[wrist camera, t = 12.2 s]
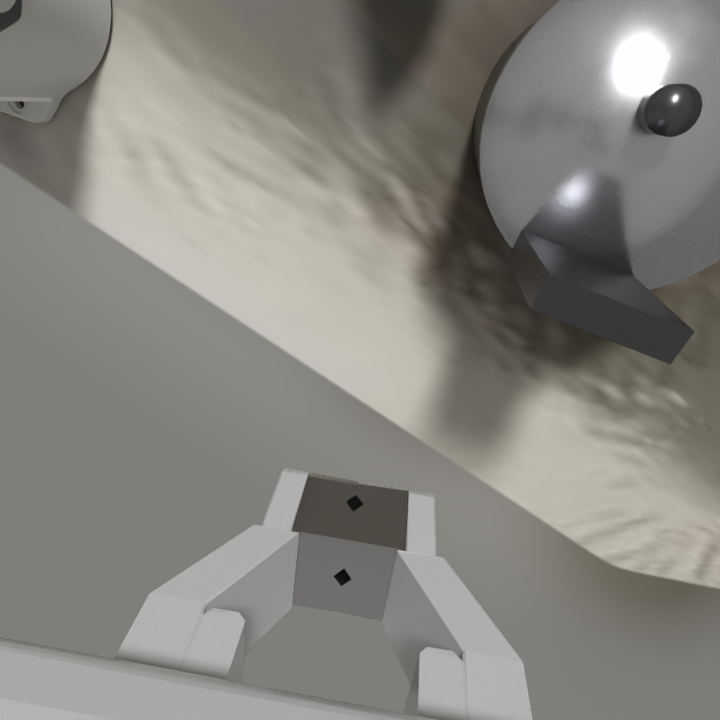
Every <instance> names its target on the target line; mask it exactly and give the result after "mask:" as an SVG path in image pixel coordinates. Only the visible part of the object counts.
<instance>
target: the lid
mask: <svg viewBox="0 0 720 720" xmlns="http://www.w3.org/2000/svg"><path fill="white" fill-rule="evenodd" d="M479 169H480V176H481V183H482V188H483V192H484V196H485V199H486V203H487V206H488V208H489V210H490V212H491V215H492V217H493V219H494V222H495V224H496V226H497V227H498V229H499V231H500V232H501V234H502V235H503V237H504V239H505V240H506V242H507V243H508V244H509V245H510V246H511V248H512V250H511V252H510V254H509V256H508V258H507V260H508V262H509V264H510V267H511V269H512V271H513V273H514V275H515V277H516V280H517V282H518V284H519V286H520V288H521V291H522V293H523V295H524V297H525V299H526V301H527V304H528V306H529V308H530V309H531V310H534V311H536V312H539V313H542V314H544V315H547V316H549V317H552V318H554V319H557V320H559V321H562V322H564V323H567V324H569V325H572V326H575V327H577V328H580V329H582V330H585V331H587V332H590V333H592V334H595V335H597V336H600V337H602V338H605V339H608V340H610V341H613V342H615V343H618V344H620V345H623V346H625V347H628V348H630V349H633V350H635V351H638V352H640V353H643V354H646V355H648V356H651V357H653V358H656V359H658V360H661V361H663V362H666V363H668V364H671V363H672V361H673V360H674V359H675V357H676V356H677V355H678V353H679V352H680V351H681V349H682V348H683V347H684V345H685V344H686V343H687V341H688V340H689V339H690V337H691V336H692V335H693V333H694V331H693V330H692V329H691V328H690V327H689V326H688V325H687V324H685V323H684V322H683V321H682V320H681V319H680V318H679V317H678V316H677V315H676V314H675V313H674V312H673V311H671V310H670V309H669V308H668V307H667V306H666V305H665V304H664V303H663V302H662V301H661V300H660V299H658V298H657V297H656V296H655V295H654V294H653V293H652V292H651V291H650V290H649V289H654V288H658V287H661V286H665V285H668V284H672V283H675V282H677V281H679V280H682V279H684V278H687V277H689V276H692V275H694V274H696V273H698V272H699V271H701V270H703V269H705V268H707V267H709V266H711V265H713V264H714V263H716V262H717V261H719V260H720V0H559V1H558V2H557V3H555V4H554V5H553V6H552V7H551V8H549V9H548V10H547V11H546V12H545V13H544V14H543V15H542V16H541V17H540V18H539V19H538V20H537V21H536V22H535V23H534V24H533V25H532V27H531V28H530V29H529V30H528V31H527V33H526V34H525V35H524V36H523V37H522V39H521V40H520V41H519V42H518V44H517V45H516V47H515V48H514V50H513V51H512V53H511V55H510V56H509V58H508V59H507V61H506V62H505V64H504V66H503V68H502V70H501V72H500V74H499V76H498V78H497V80H496V82H495V84H494V87H493V89H492V92H491V95H490V98H489V100H488V103H487V106H486V110H485V114H484V118H483V123H482V127H481V136H480V144H479Z"/></svg>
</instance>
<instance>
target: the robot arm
mask: <svg viewBox="0 0 720 720" xmlns="http://www.w3.org/2000/svg"><path fill="white" fill-rule="evenodd" d="M110 25H111V2H110V0H0V111H1V112H4V113H7V114H9V115H12V116H15V117H18V118H21V119H23V120H26V121H29V122H33V123H47V122H48V121H50V120H51V119H52V117H53V116H54V114H55V113H56V111H57V109H58V107H59V105H60V103H61V100H62V98H63V97H64V96H65V95H66V94H67V93H68V92H70V91H71V90H73V89H74V88H76V87H77V86H79V85H80V84H81V83H83V82H84V81H85V80H86V79H87V78H88V77H89V76H90V75H91V74H92V73H93V72H94V70H95V69H96V67H97V66H98V64H99V62H100V61H101V59H102V56H103V54H104V52H105V49H106V46H107V42H108V38H109V33H110ZM20 101H23V102H24V107H22V106H21V104H20ZM435 520H436V519H435V496H434V494H433V493H428V492H422V491H415V490H404V489H399V488H392V487H386V486H380V485H374V484H368V483H362V482H357V481H352V480H347V479H341V478H336V477H331V476H326V475H321V474H316V473H311V472H310V473H308V472H303V471H298V470H293V469H287V468H285V469H284V470H283V471H282V473H281V475H280V477H279V480H278V483H277V485H276V488H275V491H274V493H273V496H272V499H271V501H270V504H269V507H268V509H267V512H266V515H265V518H264V520H263V523H262V525H261V526H258V525H253V526H251V527H250V528H248V529H247V530H245V531H244V532H242V533H241V534H239V535H238V536H236V537H235V538H233V539H232V540H230V541H228V542H227V543H225V544H224V545H222V546H221V547H219V548H218V549H216V550H215V551H213V552H212V553H210V554H209V555H207V556H206V557H204V558H203V559H201V560H200V561H198V562H197V563H195V564H194V565H192V566H191V567H189V568H188V569H186V570H185V571H183V572H182V573H180V574H179V575H177V576H175V577H174V578H173V579H171V580H170V581H168V582H167V583H165V584H164V585H162V586H160V587H159V588H157V589H156V590H154V591H153V592H151V593H150V594H149V596H148V598H147V599H146V601H145V603H144V605H143V607H142V608H141V610H140V612H139V614H138V616H137V618H136V619H135V621H134V623H133V625H132V627H131V628H130V630H129V632H128V634H127V636H126V638H125V639H124V641H123V643H122V645H121V647H120V649H119V650H118V652H117V654H116V656H115V658H114V659H112V658H107V657H102V656H96V655H91V654H86V653H80V652H74V651H70V650H64V649H58V648H53V647H48V646H43V645H38V644H32V643H26V642H22V641H16V640H11V639H5V638H0V720H532V714H531V708H530V703H529V696H528V691H527V684H526V678H525V672H524V666H523V662H522V661H521V659H520V658H519V657H518V656H517V654H516V653H515V651H514V650H513V649H512V647H511V646H510V645H509V643H508V642H507V641H506V640H505V638H504V637H503V636H502V634H501V633H500V631H499V630H498V629H497V628H496V626H495V625H494V624H493V622H492V621H491V620H490V618H489V617H488V616H487V614H486V613H485V612H484V610H483V609H482V608H481V607H480V605H479V604H478V602H477V601H476V600H475V598H473V596H472V594H471V593H470V592H469V590H468V589H467V588H466V587H465V585H464V584H463V583H462V581H461V580H460V579H459V577H458V576H457V575H456V573H455V572H454V571H453V570H452V568H451V567H450V565H449V564H448V563H447V561H446V560H445V559H444V558H441V557H436V521H435ZM292 605H298V606H305V607H311V608H319V609H325V610H331V611H337V610H338V612H342V613H347V614H352V615H357V616H362V617H366V618H371V619H376V620H380V621H382V625H383V627H384V629H385V631H386V633H387V636H388V638H389V640H390V642H391V644H392V647H393V649H394V651H395V653H396V655H397V657H398V660H399V662H400V664H401V666H402V668H403V670H404V672H405V675H406V677H407V679H408V681H409V683H410V685H411V686H410V689H409V693H408V697H407V700H406V703H405V707H404V711H403V713H399V712H394V711H389V710H384V709H379V708H373V707H368V706H363V705H357V704H352V703H347V702H341V701H336V700H331V699H325V698H319V697H315V696H309V695H304V694H299V693H293V692H288V691H283V690H277V689H272V688H267V687H262V686H256V685H251V684H245V683H243V665H244V656H245V655H246V654H247V653H248V652H249V651H250V650H251V649H252V648H253V647H254V646H255V645H256V644H257V643H258V642H259V641H260V640H261V639H262V638H263V637H264V635H266V634H267V633H268V632H269V631H270V629H271V628H272V627H273V626H274V625H275V624H276V623H277V622H278V621H279V620H280V619H281V618H282V617H283V616H284V615H285V614H286V613H287V612H288V611H289V610H290V609H291V608H292Z"/></svg>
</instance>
